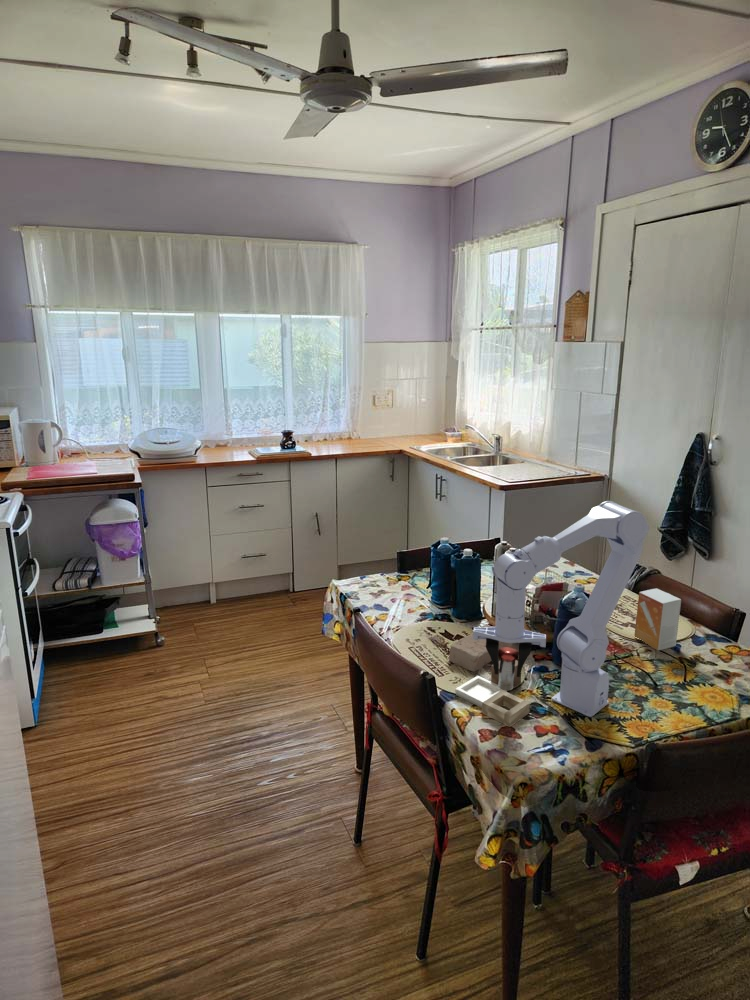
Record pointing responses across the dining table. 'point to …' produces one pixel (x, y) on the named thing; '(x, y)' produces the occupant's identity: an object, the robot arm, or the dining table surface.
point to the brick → (472, 652)
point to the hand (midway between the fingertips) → (507, 673)
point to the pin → (507, 667)
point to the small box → (657, 618)
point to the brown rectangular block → (496, 677)
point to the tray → (477, 690)
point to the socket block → (495, 711)
